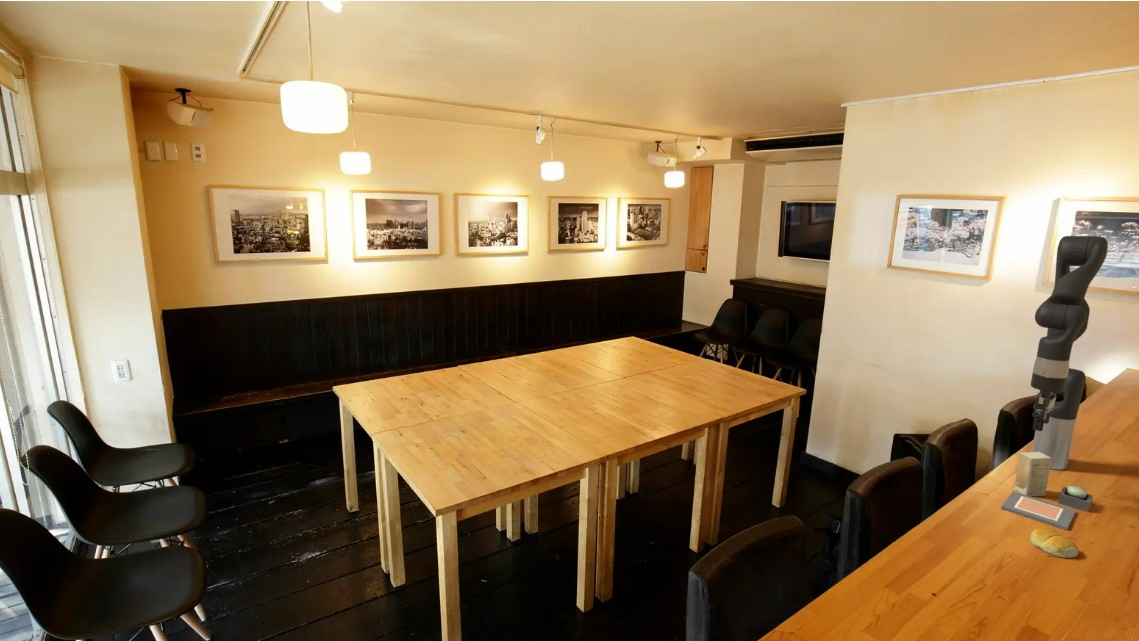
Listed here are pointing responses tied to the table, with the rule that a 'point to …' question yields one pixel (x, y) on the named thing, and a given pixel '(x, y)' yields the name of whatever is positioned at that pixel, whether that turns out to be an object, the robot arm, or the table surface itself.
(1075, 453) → the table surface
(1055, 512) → the picture board
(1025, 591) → the table surface
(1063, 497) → the button housing
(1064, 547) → the bread roll
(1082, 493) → the button
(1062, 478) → the table surface
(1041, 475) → the skincare box
